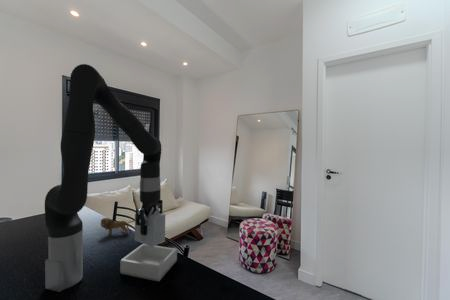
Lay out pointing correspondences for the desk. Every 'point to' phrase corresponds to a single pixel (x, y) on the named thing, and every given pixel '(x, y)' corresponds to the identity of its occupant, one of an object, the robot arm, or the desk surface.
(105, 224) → the lion figurine
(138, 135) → the robot arm
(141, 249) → the tray
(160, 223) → the skincare box
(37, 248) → the desk surface
